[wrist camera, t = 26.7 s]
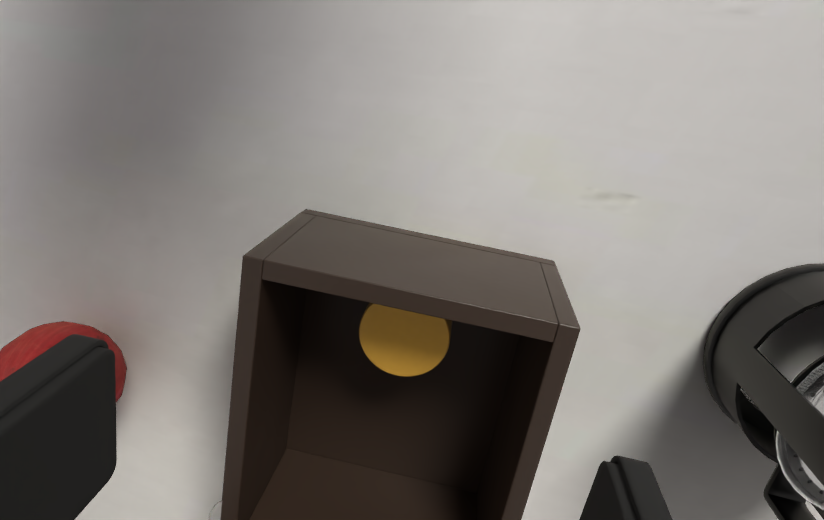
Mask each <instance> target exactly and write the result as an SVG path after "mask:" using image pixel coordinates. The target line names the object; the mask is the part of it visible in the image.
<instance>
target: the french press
mask: <svg viewBox="0 0 824 520" xmlns="http://www.w3.org/2000/svg"><path fill="white" fill-rule="evenodd" d="M823 304H824V264H806V265H801V266H796V267H791V268H786V269H784V270H781V271H778V272H776V273H773V274H770V275H768V276H765V277H764V278H762V279H760V280H758V281H757V282H755V283H753V284H752V285H750V286H748V287H747V288H745V289H744V290H743V291H742V292H741V293H739V294H738V295H737V296H736V297H735V298H733V299H732V300H731V301H730V302H729V304H728V305H727V306H726V307H725V308H724V309H723V311H722V312H721V313H720V314H719V316H718V317H717V319H716V321H715V323H714V324H713V326H712V328H711V330H710V332H709V335H708V338H707V341H706V345H705V348H704V360H703V367H704V374H705V380H706V383H707V386H708V388H709V391H710V393H711V395H712V397H713V398H714V400H715V401H716V403H717V404H718V405H719V407H720V408H721V409H722V411H723V412H724V413H725V414H726V415H727V416H728V417H730V418H731V419H732V420H733V421H734V422H735V423H737V424H738V425H739V426H740V428H741V429H742V430H743V432H744V433H745V434H746V436H747V437H748V439H749V440H750V441H751V443H752V444H753V445H754V446H755V447H756V448H757V449H758V450H759V451H760V452H762V453H763V454H764V455H765V456H766V457H768V458H769V459H771V460H773V461H775V462H776V463H778V464H777V466H776V468H775V470H774V472H773V474H772V476H771V478H770V480H769V481H768V483H767V485H766V487H765V490H764V498H765V500H766V501H767V503H768V504H769V506H770V507H771V509H772V510H773V512H774V513H775V515H776V516H777V518H778V519H779V520H816V519H815V518H814V516H813V515H812V514H811V512H810V511H809V510H808V508H807V507H806V504H805V501H806V500H807V501H808V502H810V503H811V504H812V505H813V506H814V507H815V509H816V510H817V511H818V513H819V514H820V515H821V517H822V518H823V519H824V355H823V356H822V357H820V358H819V359H817V360H816V361H814V362H813V363H812V364H810V365H809V366H808V367H807V368H806V369H804V370H803V371H802V372H801V373H800V374H799V375H798V376H797V377H796V378H795V379H794V381H793V382H792V383H790V382H789V381H788V380H787V379H786V378H785V377H784V376H783V375H782V374H781V373H780V372H779V371H778V370H777V369H776V368H775V367H774V366H773V365H772V364H771V363H770V362H769V361H768V360H767V359H766V358H765V357H764V356H763V355H762V354H761V353H760V352H759V351H758V350H757V349H758V348H759V347H760V345H761V344H762V343H763V342H764V341H765V340H766V339H767V338H768V336H769V335H770V334H771V333H773V332H774V331H775V330H777V329H778V328H779V327H780V326H782V325H783V324H784V323H786V322H787V321H788V320H790V319H792V318H794V317H796V316H797V315H799V314H801V313H803V312H805V311H806V310H809V309H812V308H815V307H817V306H820V305H823ZM741 387H742V389H743V390H744V391H745V392H746V393H747V395H748V396H749V397H750V398H751V399H752V401H753V402H754V403H755V404H756V405H757V407H756V406H755V405H753V404H752V403H751V402H750V401H749V400H748V399H747V398H746V397H745V396H744V395H743V393H742V392H741Z"/></svg>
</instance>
